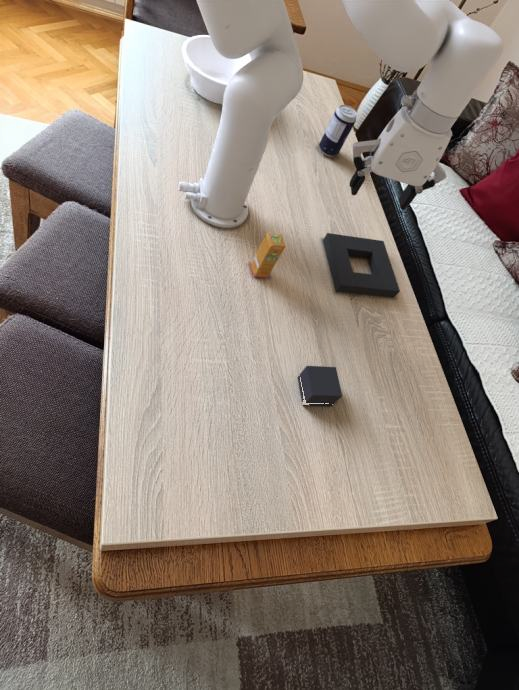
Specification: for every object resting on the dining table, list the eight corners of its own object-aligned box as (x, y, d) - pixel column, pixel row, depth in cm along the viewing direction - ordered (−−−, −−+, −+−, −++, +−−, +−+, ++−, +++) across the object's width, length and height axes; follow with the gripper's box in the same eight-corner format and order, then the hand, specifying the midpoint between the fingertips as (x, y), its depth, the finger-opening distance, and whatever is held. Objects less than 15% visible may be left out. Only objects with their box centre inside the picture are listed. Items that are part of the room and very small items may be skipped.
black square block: (302, 406, 89) (312, 395, 85) (297, 377, 92) (306, 365, 88) (331, 406, 91) (342, 396, 87) (325, 378, 94) (336, 366, 90)
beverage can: (337, 161, 132) (359, 121, 122) (318, 154, 131) (338, 114, 121) (336, 147, 135) (357, 108, 125) (317, 141, 134) (336, 100, 124)
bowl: (210, 123, 123) (218, 93, 116) (159, 71, 128) (164, 38, 121) (269, 108, 135) (280, 80, 128) (221, 60, 139) (229, 31, 133)
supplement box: (254, 278, 101) (270, 245, 93) (250, 265, 103) (265, 231, 95) (269, 278, 102) (286, 245, 94) (264, 265, 104) (281, 231, 96)
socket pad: (335, 292, 106) (340, 285, 104) (322, 240, 114) (327, 232, 112) (394, 298, 111) (400, 291, 109) (378, 248, 119) (383, 240, 117)
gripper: (382, 109, 73) (333, 198, 86) (484, 144, 77) (422, 224, 90) (378, 81, 77) (332, 170, 91) (475, 115, 81) (416, 196, 94)
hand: (377, 197), depth 90 cm, fingers open, 9 cm apart
